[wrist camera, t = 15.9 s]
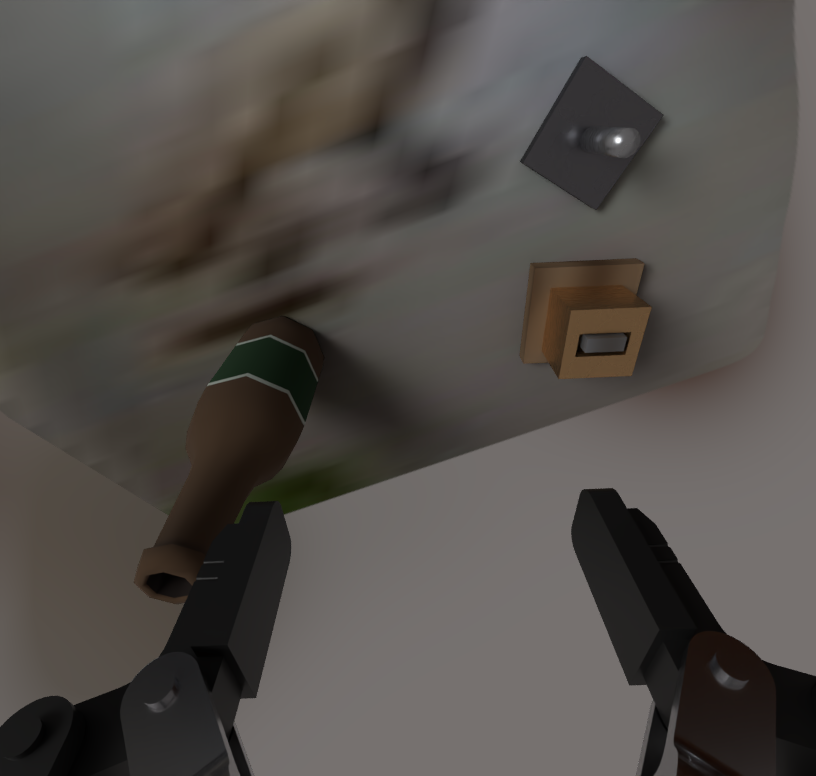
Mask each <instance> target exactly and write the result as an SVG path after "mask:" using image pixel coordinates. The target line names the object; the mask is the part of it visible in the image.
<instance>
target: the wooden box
mask: <svg viewBox="0 0 816 776" xmlns="http://www.w3.org/2000/svg"><path fill="white" fill-rule="evenodd" d="M644 264H645V263H643V262H641V261H639V260H638V259H636V258H635V259H612V260H590V261H568V262H546V263H530V272H529V280H528V289H527V297H526V306H525V314H524V323H523V331H522V340H521V348H520V358H521V360H522V362H523V364H525V363H547V362H548V361H547V359H546V357H545V356H544V354H543V353H542V351H541V350H542V343H543V337H544V330H545V323H546V317H547V310H548V303H549V296H550V290H551V288H559V287H582V286H604V285H623V286H624V287H625V288H627V289H628V290H630V291H631V292H632V293H634V294H635V295H636V294H637V290H638V287H639V283H640V279H641V275H642V272H643V268H644ZM626 340H627V337H626V336H625V335H624V334H623V333H622V332H621V333H599V334H580V335H579V340H578V345H579V346H580V347H581V349H582V350H583V351H584V352H585V353H594V352H616V351H624V347H625V344H626Z"/></svg>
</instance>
